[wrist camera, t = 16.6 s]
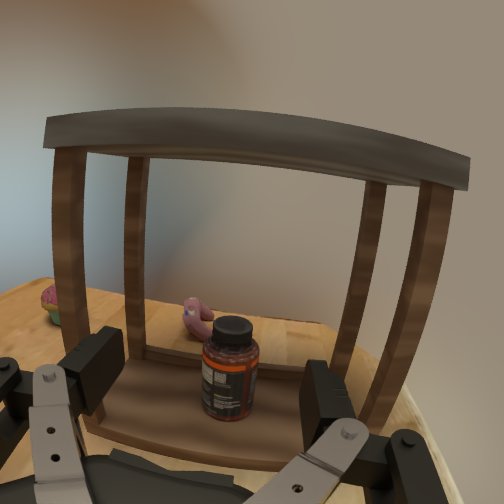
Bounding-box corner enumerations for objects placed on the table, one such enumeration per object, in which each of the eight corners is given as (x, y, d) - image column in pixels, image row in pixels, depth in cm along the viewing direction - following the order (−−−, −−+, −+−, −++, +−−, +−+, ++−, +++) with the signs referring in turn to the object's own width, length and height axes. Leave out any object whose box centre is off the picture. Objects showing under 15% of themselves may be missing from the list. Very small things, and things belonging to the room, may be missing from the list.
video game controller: (194, 325, 59) (179, 295, 57) (215, 317, 59) (201, 286, 57) (194, 351, 49) (175, 318, 47) (218, 342, 49) (201, 308, 47)
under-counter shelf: (368, 473, 24) (470, 157, 17) (78, 431, 25) (47, 117, 18) (342, 386, 40) (389, 165, 33) (130, 358, 41) (132, 138, 34)
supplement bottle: (245, 389, 36) (255, 310, 33) (257, 421, 30) (271, 337, 28) (198, 391, 34) (201, 310, 32) (204, 424, 29) (207, 338, 26)
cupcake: (58, 307, 52) (53, 250, 49) (92, 315, 52) (88, 255, 49) (36, 325, 43) (27, 262, 41) (72, 335, 44) (64, 268, 41)
